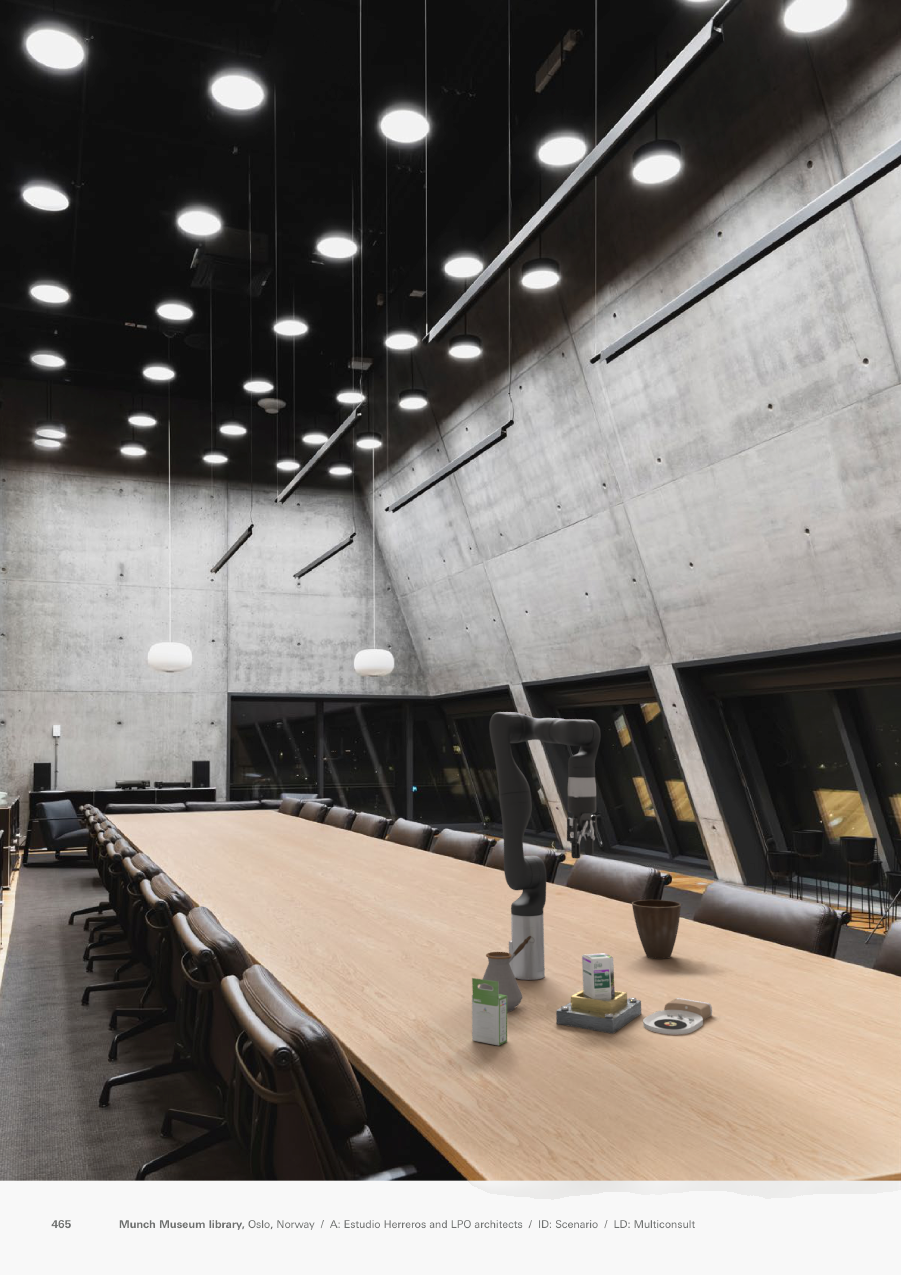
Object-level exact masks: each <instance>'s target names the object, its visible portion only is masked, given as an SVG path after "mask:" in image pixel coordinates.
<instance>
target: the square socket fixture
mask: <svg viewBox="0 0 901 1275" xmlns="http://www.w3.org/2000/svg"><path fill="white" fill-rule="evenodd" d="M555 1013H556V1014H555V1015H556V1025H561V1026H566V1027H571V1028H572V1027H574V1028H579V1029H584V1030H589V1031H590V1030H591V1031H597V1032H600V1033H602V1032H603V1033H608V1034H613V1035H614V1034H615V1033H616V1032H618V1031H619V1030H620V1029H622V1028H623V1027H624V1026H626V1025H627V1024H629V1023H630V1022H631V1021H633V1020H635V1019H637V1017H639V1016H640V1015H641V1014H642V1001H641V1000H639V999H637V998H636V997H629V998H628V992H626V991H619V990H615V998H613V999H612V1000H610V1001H604V1000H597V999H591V998H584V995H583V989H581V990H580V991H578V992H575V993H574V994H573V995H570V1002H568V1003H567V1004H565V1005H563V1006H560V1008H558V1009H556V1010H555Z"/></svg>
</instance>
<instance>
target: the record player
mask: <svg viewBox="0 0 901 1275" xmlns="http://www.w3.org/2000/svg"><path fill="white" fill-rule="evenodd" d="M712 1015H713V1007H712V1005H711V1003H710V1002H704V1001H700V1000H699V1001H698V1000H693V999H688V998H687V999H686V998H681V997H676V998H674V999H673V1000H671V1001H669V1002H667V1003H666V1004H665V1005H664V1009H663V1010H658V1011H655V1012H653V1013H651V1014H649V1015H647V1016H646V1017H644V1018H643V1020H642V1021H643V1022H642V1023H643V1024H642V1026H643V1027H644V1028H645V1029H646V1030H648V1031H651V1032H653V1033H657V1034H662V1035H663V1034H664V1035H687V1034H691V1033H693V1032H695V1031H696V1030H698V1029H700V1028H701V1027H702V1026H703V1025H704V1021H705V1020H707V1019H708V1018H710V1017H711V1016H712Z"/></svg>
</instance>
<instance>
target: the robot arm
mask: <svg viewBox="0 0 901 1275" xmlns="http://www.w3.org/2000/svg"><path fill="white" fill-rule="evenodd" d="M489 736H490V742H491V746H492V752H493V758H494V761H495V767H496V768H495V769H496V776H497V785H498V786H497V787H498V795H499V796H498V797H499V807H500V813H501V822H502V836H503V870H504V873H503V874H504V878H505V881H506V883H507V885H508V887H509V888H510V889H511V890H513V891H521V894H520V895H519V897H518V898H517V899H515V900H514V901H513V902H512V903H511V906H510V912H511V913H510V915H511V916H510V921H511V922H510V923H511V928H510V929H511V931H510V932H511V940H509V941H508V953H510V954H511V955H512V954H513V953H514V952H515V950H516V949H517V948H518V946H519V945H520V944H521V943H523V942H524V939H527V937H528V936H531V937H533V938H534V939H535V942H534V939H533V938H531V939H530V940H529V941H530V942H534V943H530V942H529V941H528V943H527V944H526V945H525V946H524V948H523V949H522V950H521V951H520V952H519V953H518V954H517V955H516V956H515V957H514V958H513V959H512V960H511V962H510V963H509V964H510V967H511V969H512V972H513V974H514V976H515V979H518V980H524V981H526V980H529V981H531V980H532V981H534V980H535V981H536V980H540V979H543V978H544V977H545V976H546V975H545V973H546V972H545V970H546V969H545V928H544V927H545V924H544V909H545V905H546V902H547V900H546V899H547V868H546V865H545V863H544V861H543V859H542V858H541V857H539V856H537V855H525V854H524V836H525V831H526V829H527V827H528V824H529V822H530V818H531V815H532V811H533V807H532V806H533V805H532V804H533V803H532V795H531V794H532V793H531V788H530V785H529V782H528V781H527V778H526V777H525V775H524V774H523V772H522V770H520V767H518V765H517V763H516V761H515V759H514V757H513V753H512V747H511V746H512V745H511V744H519V743H523V742H529V741H533V740H535V741H537V740H538V741H540V742H543V743H546V744H559V745H561V744H562V745H566V746H573V747H575V746H576V747H577V746H579V747H580V748H579V751H578V753H576V754H573V755H571V756H569V758H568V765H567V766H568V768H567V769H568V778H567V779H568V780H567V781H568V782H567V811H568V812H569V813H570V814H572V817H568V818H567V819H566V841H567V842H569V843H570V845H571V848H570V850H571V858H572V859H580V858H581V840H582V837H584V854H585V855H588V856H593V855H594V854H595V853H594V849H595V848H594V841H595V839H596V838H597V837H598V816H597V815H596V814H595V813H596V812H597V783H596V777H595V776H596V767H595V766H596V764H595V763H596V759H597V755H598V750H599V747H600V742H601V728H600V726H599V725H598V723H597V722H596V721H595V720H592V719H576V718H575V719H573V718H572V719H570V718H569V719H564V718H560V717H559V718H557V717H556V718H554V717H553V718H552V717H543V718H537V717H532V716H529V715H526V714H523V713H519V712H516V711H515V712H511V711H510V712H508V711H506V712H504V711H503V712H501V711H499V712H495V713H494V714H492V716H491V718H490V721H489Z"/></svg>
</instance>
